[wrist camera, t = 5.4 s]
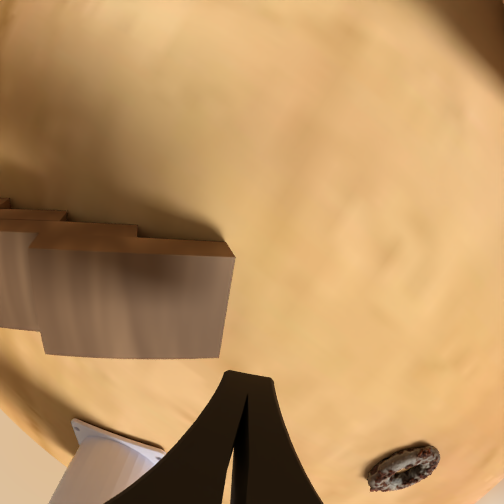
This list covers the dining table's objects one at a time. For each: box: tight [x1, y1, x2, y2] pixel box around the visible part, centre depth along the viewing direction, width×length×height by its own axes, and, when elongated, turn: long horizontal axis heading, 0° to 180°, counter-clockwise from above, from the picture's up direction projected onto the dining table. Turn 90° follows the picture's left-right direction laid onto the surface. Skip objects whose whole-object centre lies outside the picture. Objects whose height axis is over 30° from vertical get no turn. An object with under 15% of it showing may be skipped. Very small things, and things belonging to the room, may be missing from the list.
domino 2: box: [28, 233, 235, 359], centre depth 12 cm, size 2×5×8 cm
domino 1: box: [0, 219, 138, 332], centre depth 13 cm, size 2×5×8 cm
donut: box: [367, 446, 440, 492], centre depth 19 cm, size 8×8×2 cm
